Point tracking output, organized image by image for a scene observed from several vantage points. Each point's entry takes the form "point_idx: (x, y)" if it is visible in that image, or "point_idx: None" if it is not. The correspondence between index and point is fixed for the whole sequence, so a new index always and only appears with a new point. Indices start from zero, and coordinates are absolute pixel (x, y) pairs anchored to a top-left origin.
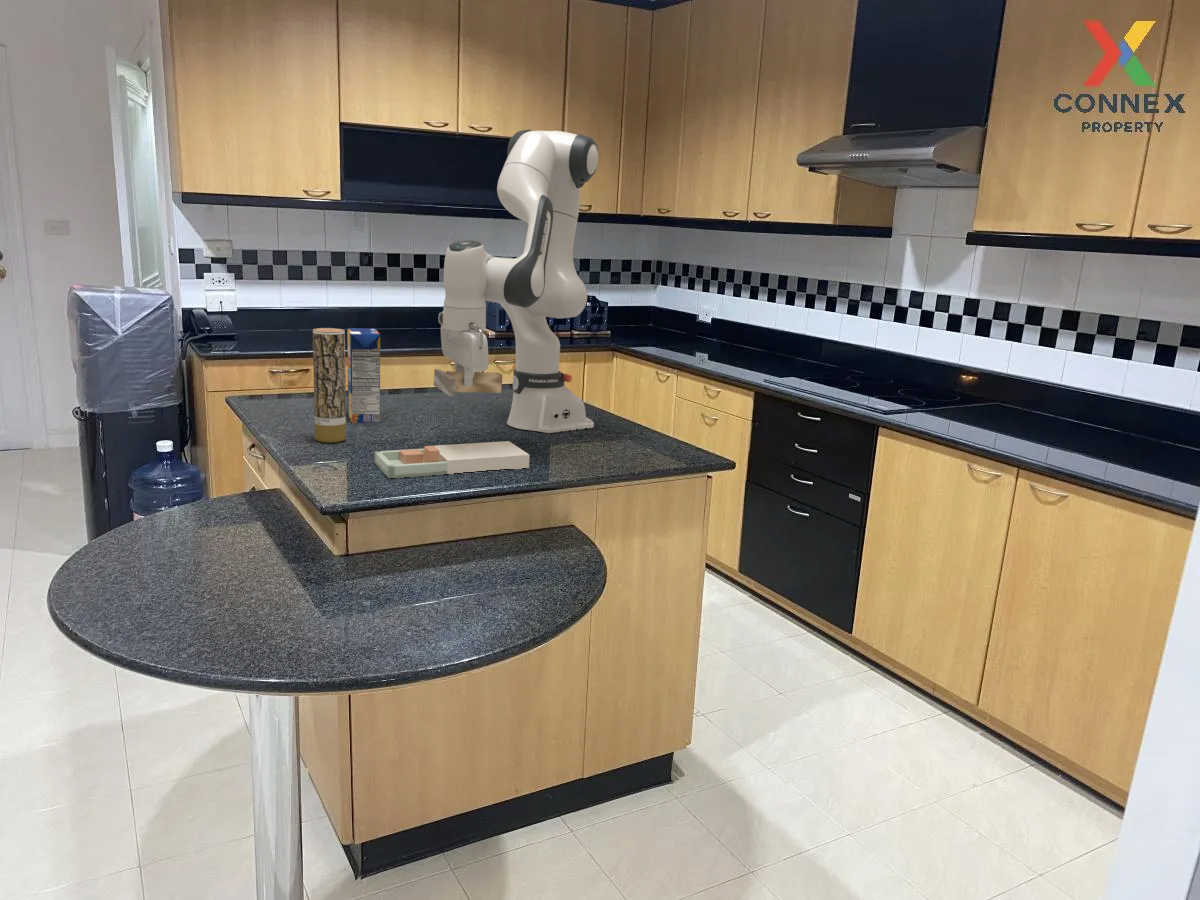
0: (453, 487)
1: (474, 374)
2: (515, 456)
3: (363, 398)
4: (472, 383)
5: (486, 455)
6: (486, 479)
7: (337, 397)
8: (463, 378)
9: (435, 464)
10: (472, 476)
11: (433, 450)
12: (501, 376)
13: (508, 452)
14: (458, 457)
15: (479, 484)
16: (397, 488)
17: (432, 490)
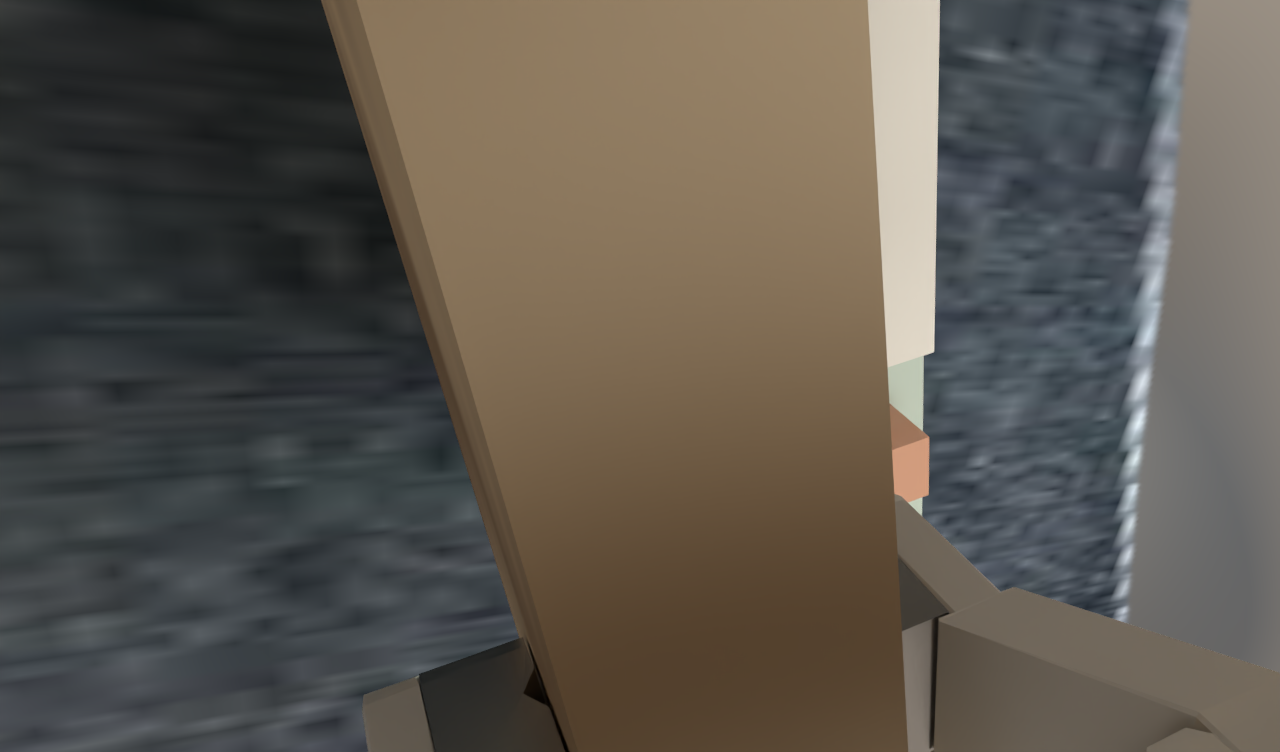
0: (1099, 277)
1: (897, 617)
2: None
3: None
4: (920, 516)
5: (875, 37)
6: (1031, 55)
7: None
8: (920, 749)
9: (919, 414)
10: (946, 148)
11: (916, 474)
12: None
13: None
14: (883, 277)
15: (1104, 119)
16: (1023, 536)
17: (1104, 382)
